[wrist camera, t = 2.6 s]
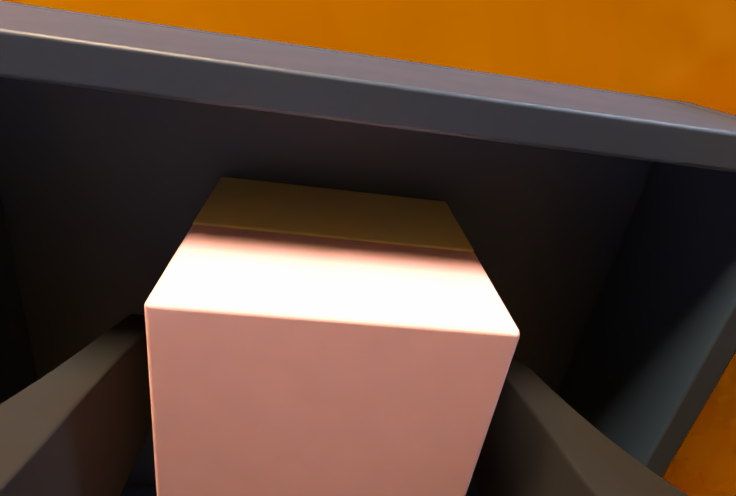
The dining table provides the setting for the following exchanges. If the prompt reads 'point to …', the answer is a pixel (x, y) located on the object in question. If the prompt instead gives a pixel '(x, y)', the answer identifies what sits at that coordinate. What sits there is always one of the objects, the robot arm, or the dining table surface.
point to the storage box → (377, 176)
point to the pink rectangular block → (323, 347)
